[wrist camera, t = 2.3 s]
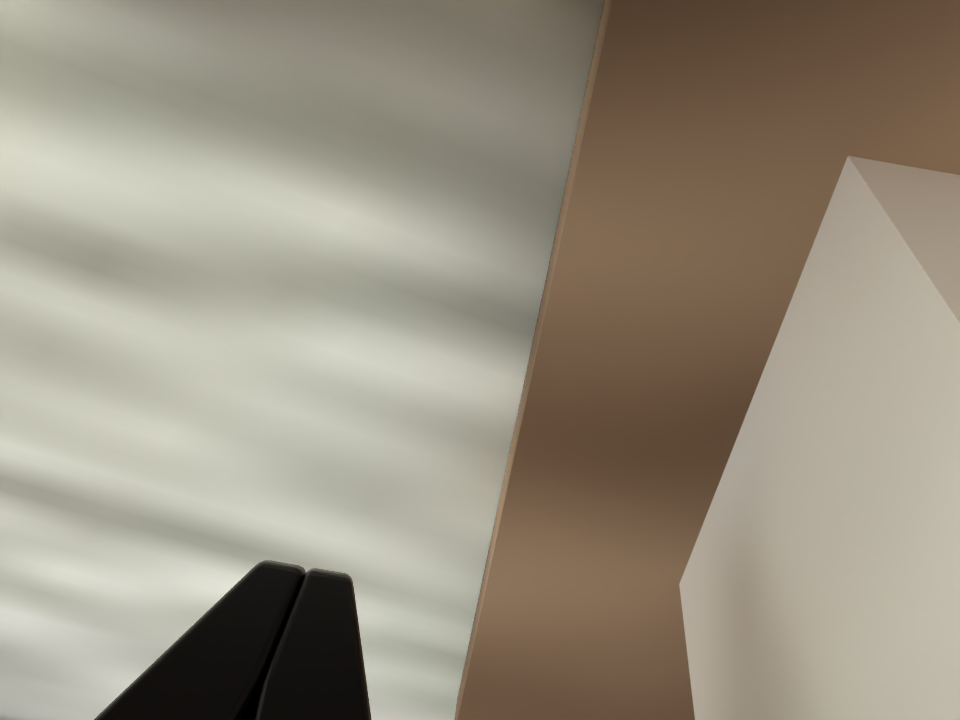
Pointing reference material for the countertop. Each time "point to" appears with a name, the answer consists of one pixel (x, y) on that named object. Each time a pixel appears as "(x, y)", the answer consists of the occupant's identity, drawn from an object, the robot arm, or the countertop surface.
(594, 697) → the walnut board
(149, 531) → the countertop surface
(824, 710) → the glazed tile
